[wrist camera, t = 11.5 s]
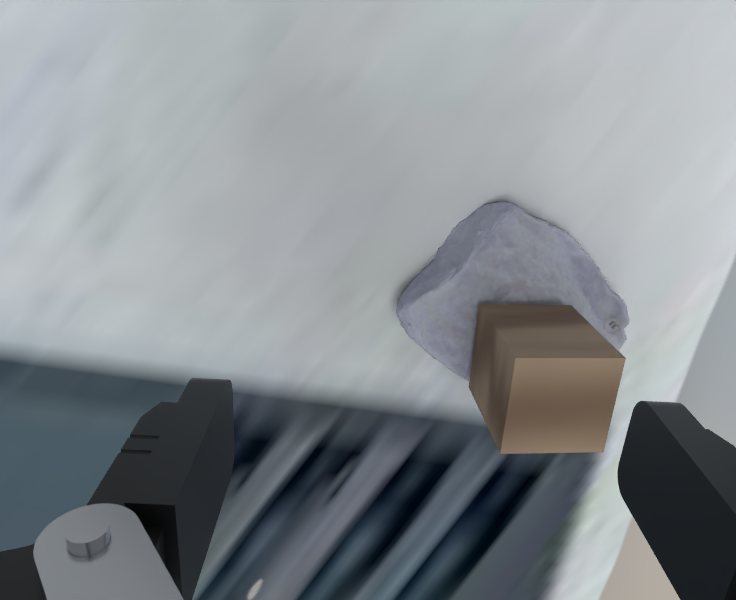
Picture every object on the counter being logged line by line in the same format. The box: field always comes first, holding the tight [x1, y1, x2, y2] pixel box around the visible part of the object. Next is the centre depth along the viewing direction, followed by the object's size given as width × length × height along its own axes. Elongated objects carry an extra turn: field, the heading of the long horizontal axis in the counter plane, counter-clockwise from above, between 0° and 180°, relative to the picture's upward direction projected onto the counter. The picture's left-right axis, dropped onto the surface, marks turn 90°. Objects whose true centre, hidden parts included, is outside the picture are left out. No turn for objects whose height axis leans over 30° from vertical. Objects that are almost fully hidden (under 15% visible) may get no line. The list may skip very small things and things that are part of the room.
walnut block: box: [469, 304, 626, 454], centre depth 30 cm, size 5×5×6 cm
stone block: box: [396, 202, 629, 382], centre depth 35 cm, size 12×5×10 cm
